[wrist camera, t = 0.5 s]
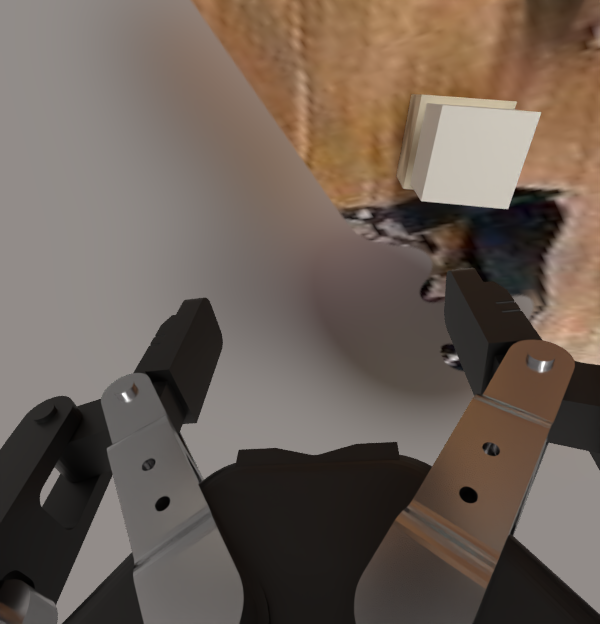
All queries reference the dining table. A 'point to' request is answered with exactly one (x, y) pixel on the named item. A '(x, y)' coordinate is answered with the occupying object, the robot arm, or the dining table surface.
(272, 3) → the dining table surface
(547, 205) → the dining table surface
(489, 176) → the cream block
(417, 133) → the beech block
